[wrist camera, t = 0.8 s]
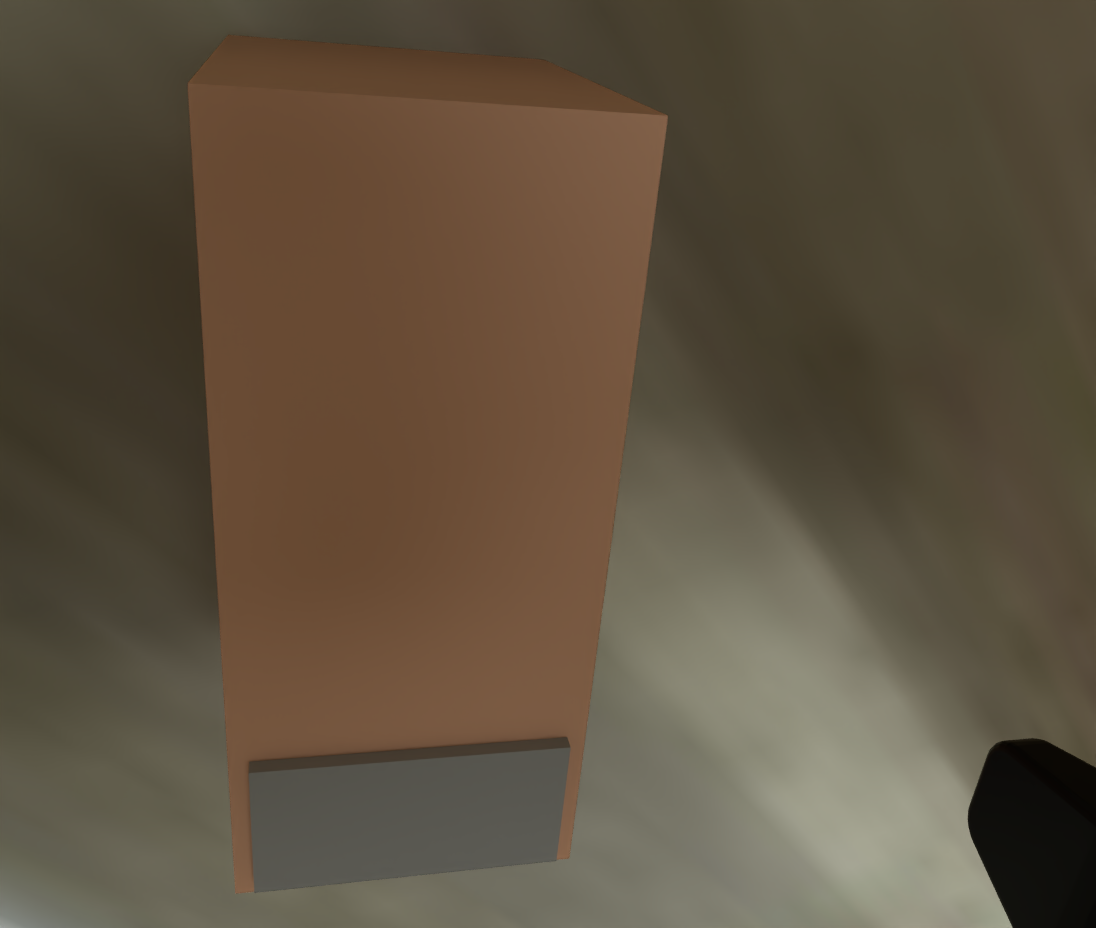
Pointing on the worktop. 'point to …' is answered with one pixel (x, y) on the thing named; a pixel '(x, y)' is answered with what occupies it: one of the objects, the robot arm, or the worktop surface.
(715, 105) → the worktop surface
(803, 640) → the worktop surface
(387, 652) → the terracotta block
